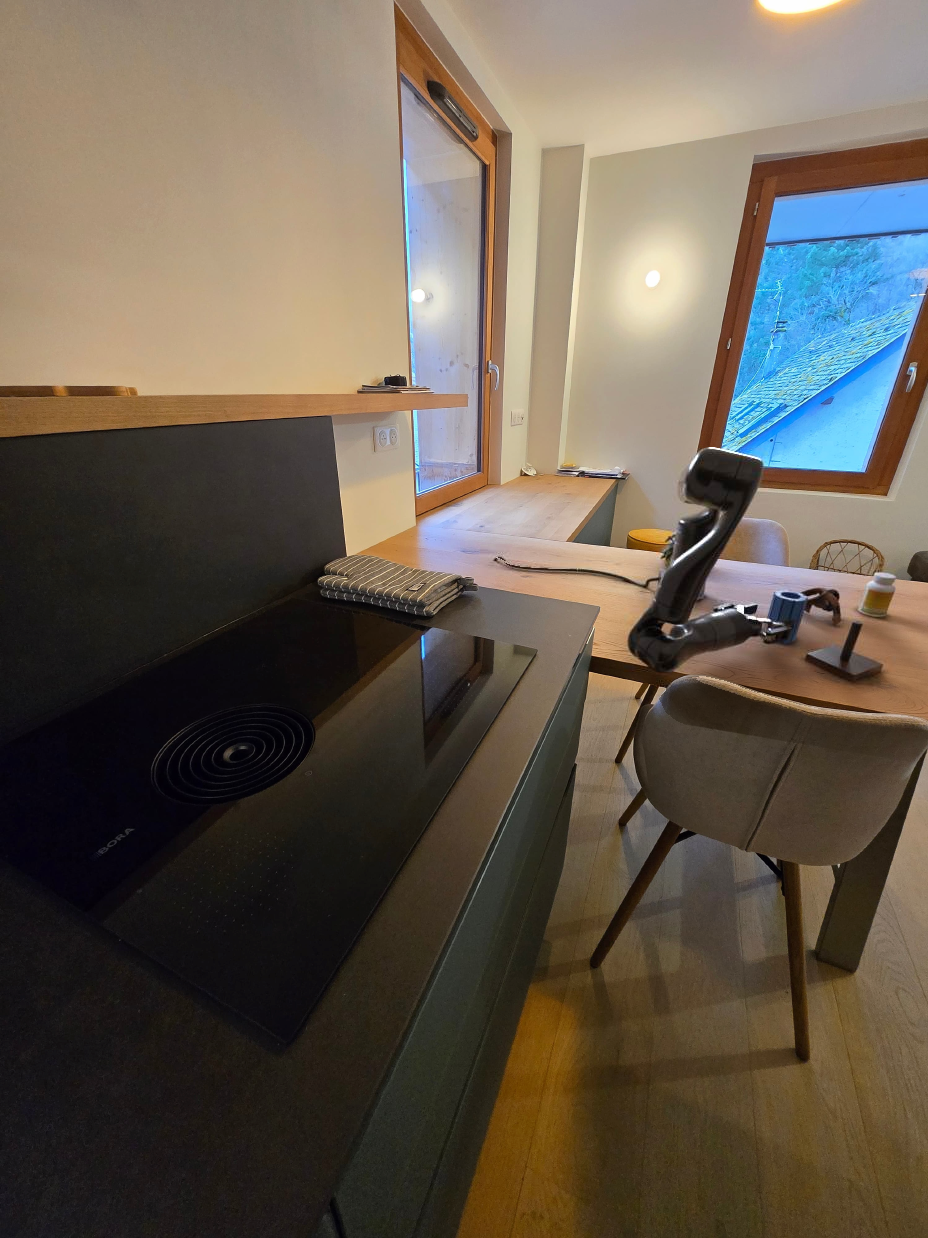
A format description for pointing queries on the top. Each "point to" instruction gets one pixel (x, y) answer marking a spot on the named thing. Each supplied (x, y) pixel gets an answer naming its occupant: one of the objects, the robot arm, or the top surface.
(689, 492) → the robot arm
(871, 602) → the supplement bottle
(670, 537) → the passion flower
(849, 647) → the stand
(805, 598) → the fluted pencil holder
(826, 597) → the brown curved piece
